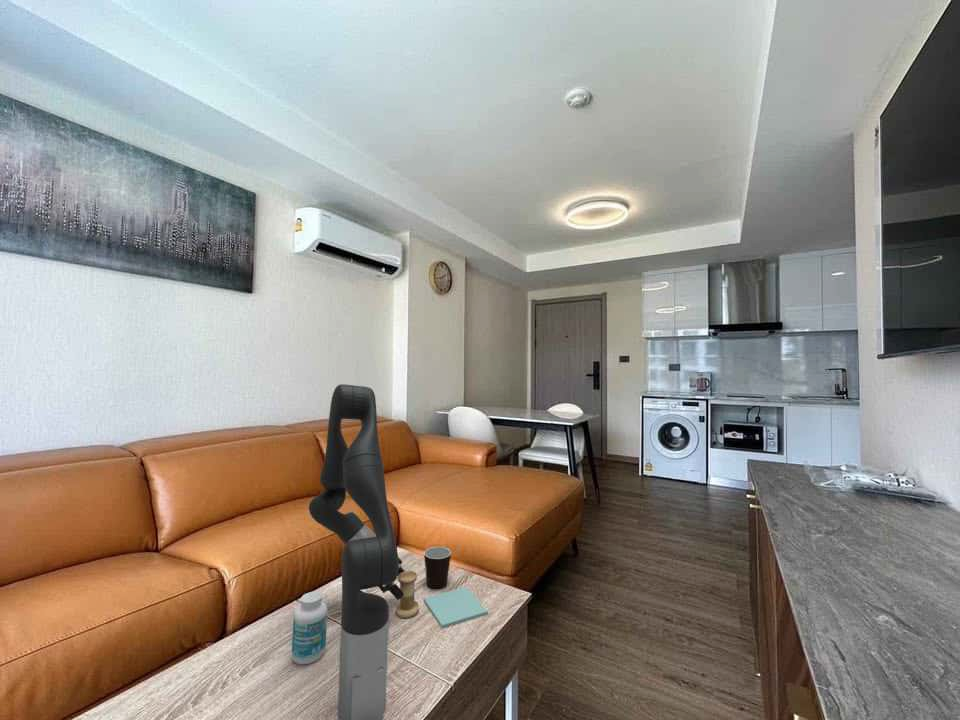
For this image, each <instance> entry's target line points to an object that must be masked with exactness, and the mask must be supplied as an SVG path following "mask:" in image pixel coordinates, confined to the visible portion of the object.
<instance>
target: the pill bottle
mask: <svg viewBox="0 0 960 720" xmlns="http://www.w3.org/2000/svg"><path fill="white" fill-rule="evenodd" d="M327 627H328V606H327V604H326V603H325V602H324V601H323V594H322V592H319V591H310V592H307V593H304V594H303V595H302V596H301V598H300V604H299V605H298V606H297V608H296V609H295V611H294V613H293V624H292V642H291V643H292V644H291V660H292V661H293V662H294V663H295V664H297V665H309V664H312V663H314V662H317V661H318V660H320V658H322V656H324V654H325V652H326V646H327Z"/></svg>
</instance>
